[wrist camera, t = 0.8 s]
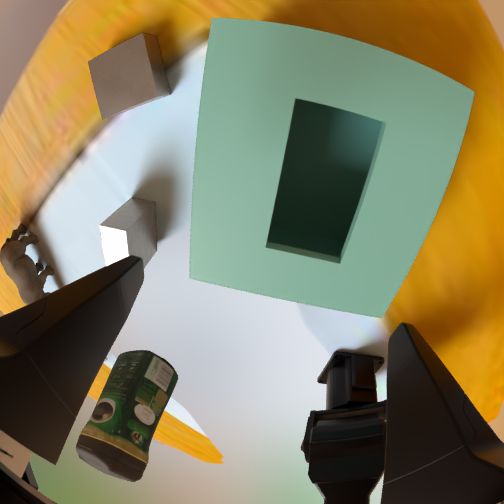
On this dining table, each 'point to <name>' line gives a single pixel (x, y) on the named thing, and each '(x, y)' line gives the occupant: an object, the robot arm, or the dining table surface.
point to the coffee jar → (127, 415)
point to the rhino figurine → (24, 266)
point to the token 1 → (129, 75)
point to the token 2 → (130, 231)
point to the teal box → (317, 164)
